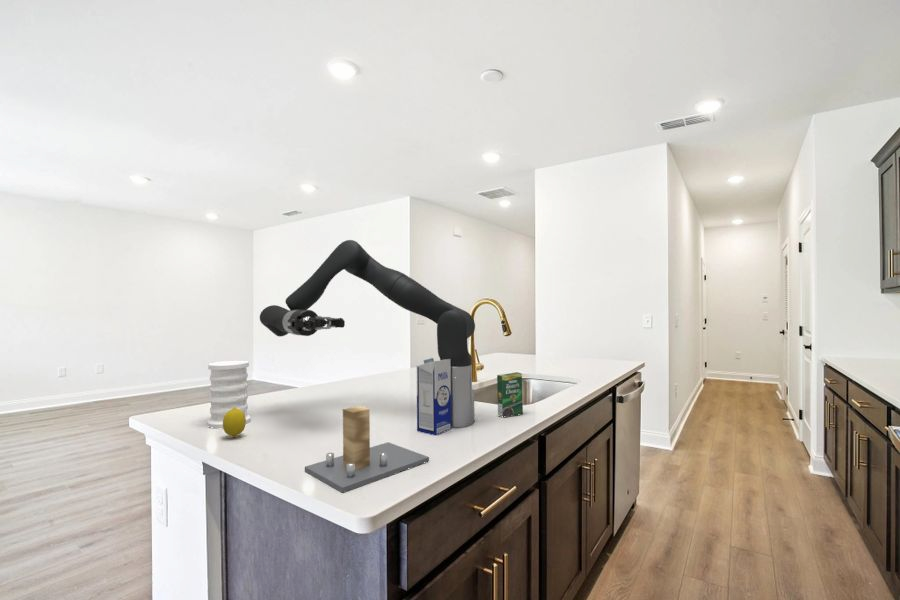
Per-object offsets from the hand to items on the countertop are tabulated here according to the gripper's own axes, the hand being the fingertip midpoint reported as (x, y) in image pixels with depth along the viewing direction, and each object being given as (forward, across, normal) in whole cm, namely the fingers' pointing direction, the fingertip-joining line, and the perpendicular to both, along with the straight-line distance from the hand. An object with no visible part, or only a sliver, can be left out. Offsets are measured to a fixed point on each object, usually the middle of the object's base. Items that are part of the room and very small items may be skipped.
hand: (329, 324), depth 116 cm
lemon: (-18, -18, +30) cm, 39 cm away
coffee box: (+22, +50, +30) cm, 62 cm away
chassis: (+25, -5, +30) cm, 39 cm away
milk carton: (+16, +23, +30) cm, 41 cm away
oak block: (+25, -8, +29) cm, 39 cm away
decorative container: (-34, -14, +30) cm, 48 cm away
